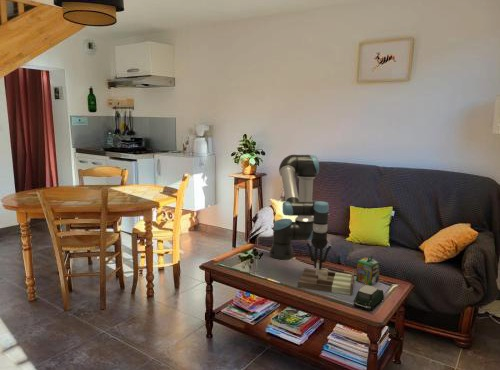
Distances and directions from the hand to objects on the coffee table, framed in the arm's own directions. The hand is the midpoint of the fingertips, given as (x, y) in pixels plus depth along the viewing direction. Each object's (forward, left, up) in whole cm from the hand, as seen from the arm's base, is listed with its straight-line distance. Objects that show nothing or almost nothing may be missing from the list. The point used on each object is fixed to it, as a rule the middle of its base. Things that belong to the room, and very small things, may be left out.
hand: (317, 274), depth 203 cm
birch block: (0, +3, -2) cm, 3 cm away
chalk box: (-12, +26, -5) cm, 29 cm away
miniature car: (+15, +27, -5) cm, 31 cm away
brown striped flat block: (0, +5, -5) cm, 7 cm away
